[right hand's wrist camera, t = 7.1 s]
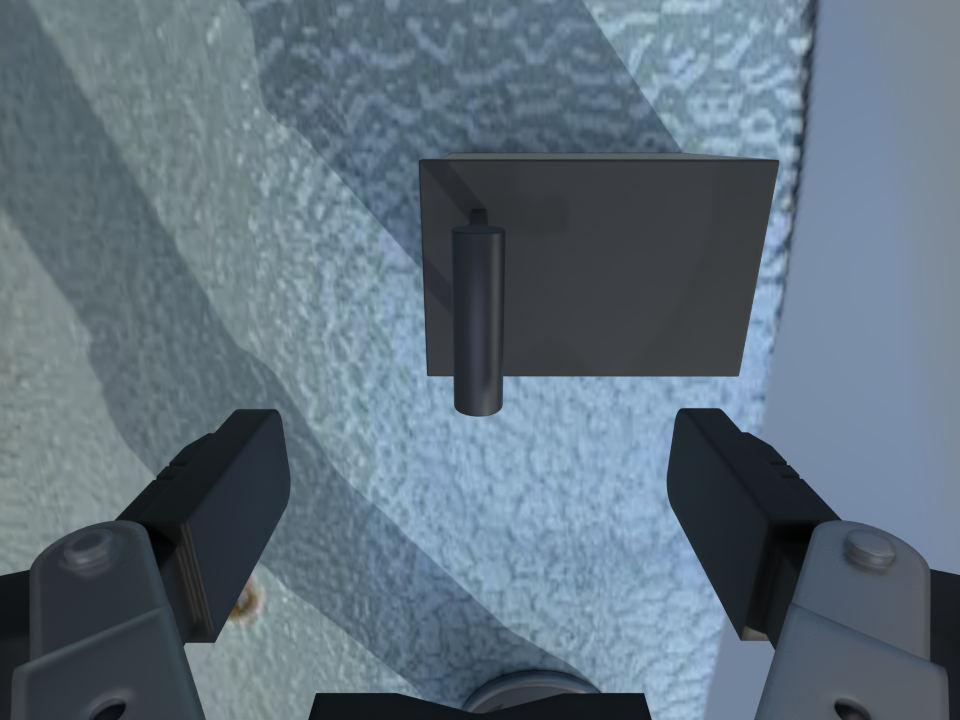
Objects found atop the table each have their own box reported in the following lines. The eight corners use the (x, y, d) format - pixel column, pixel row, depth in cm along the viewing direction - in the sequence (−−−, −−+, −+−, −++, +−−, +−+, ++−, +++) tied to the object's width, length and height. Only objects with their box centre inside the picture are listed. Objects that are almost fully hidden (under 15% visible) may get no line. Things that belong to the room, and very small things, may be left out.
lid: (429, 366, 29) (407, 462, 20) (421, 158, 25) (390, 169, 16) (728, 367, 29) (832, 462, 20) (766, 158, 25) (913, 169, 16)
